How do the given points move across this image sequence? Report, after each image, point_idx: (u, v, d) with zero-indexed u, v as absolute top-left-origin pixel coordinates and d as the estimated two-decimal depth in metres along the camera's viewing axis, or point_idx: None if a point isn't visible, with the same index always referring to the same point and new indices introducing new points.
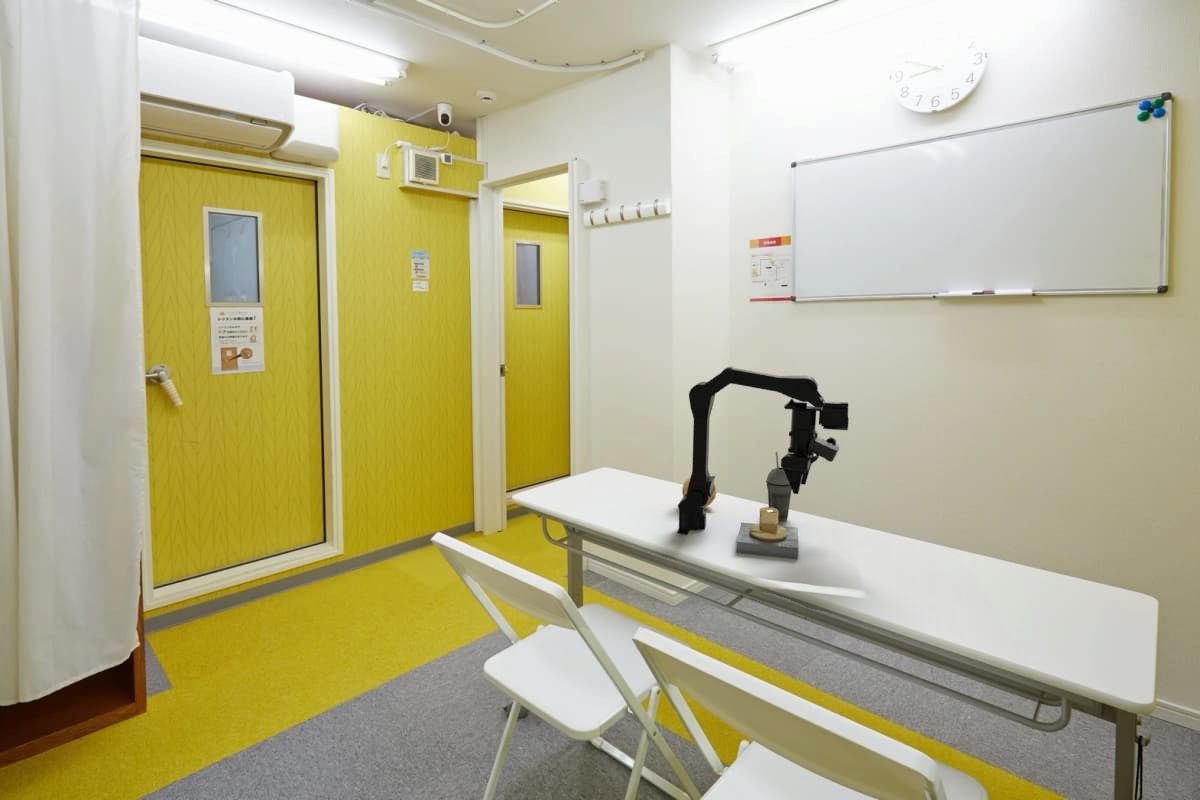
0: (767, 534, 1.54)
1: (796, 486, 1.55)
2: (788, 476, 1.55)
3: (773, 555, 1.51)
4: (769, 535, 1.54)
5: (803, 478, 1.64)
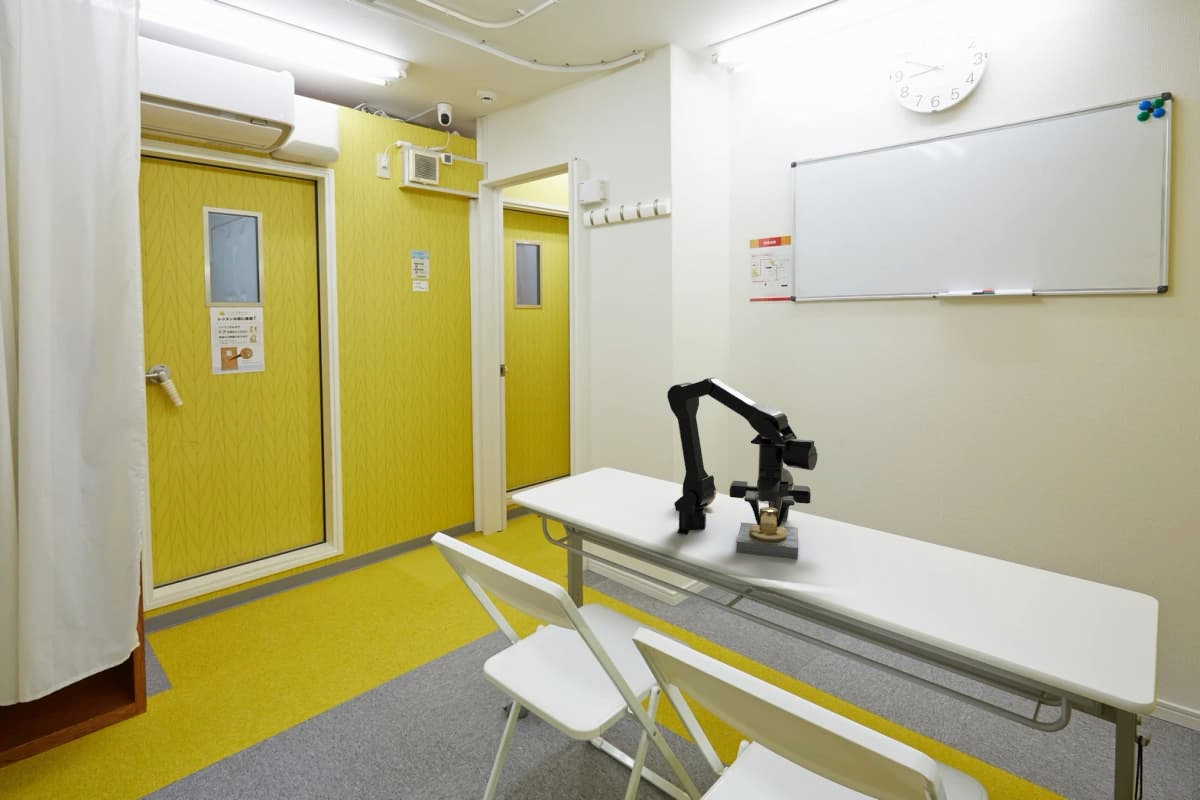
0: (767, 534, 1.54)
1: (755, 516, 1.57)
2: None
3: (773, 555, 1.51)
4: (769, 535, 1.54)
5: (778, 520, 1.56)
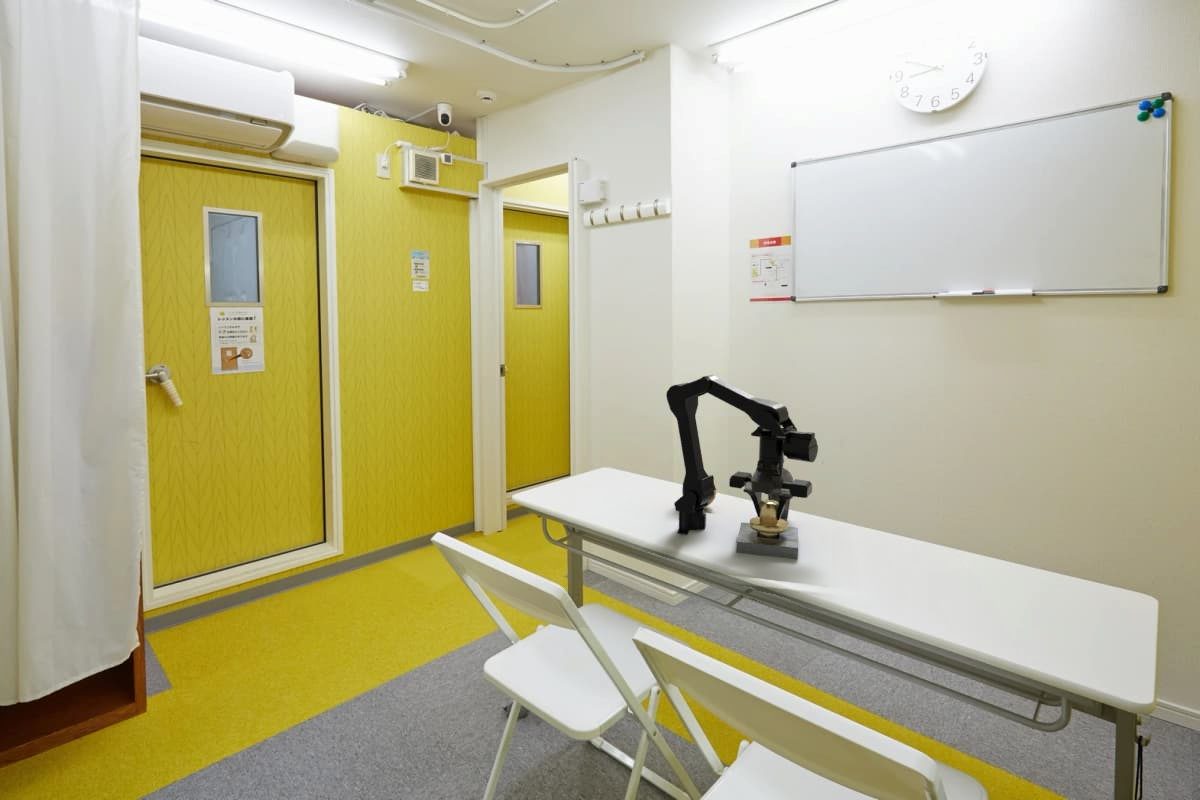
0: (764, 526, 1.54)
1: None
2: None
3: (773, 555, 1.51)
4: (765, 527, 1.54)
5: None
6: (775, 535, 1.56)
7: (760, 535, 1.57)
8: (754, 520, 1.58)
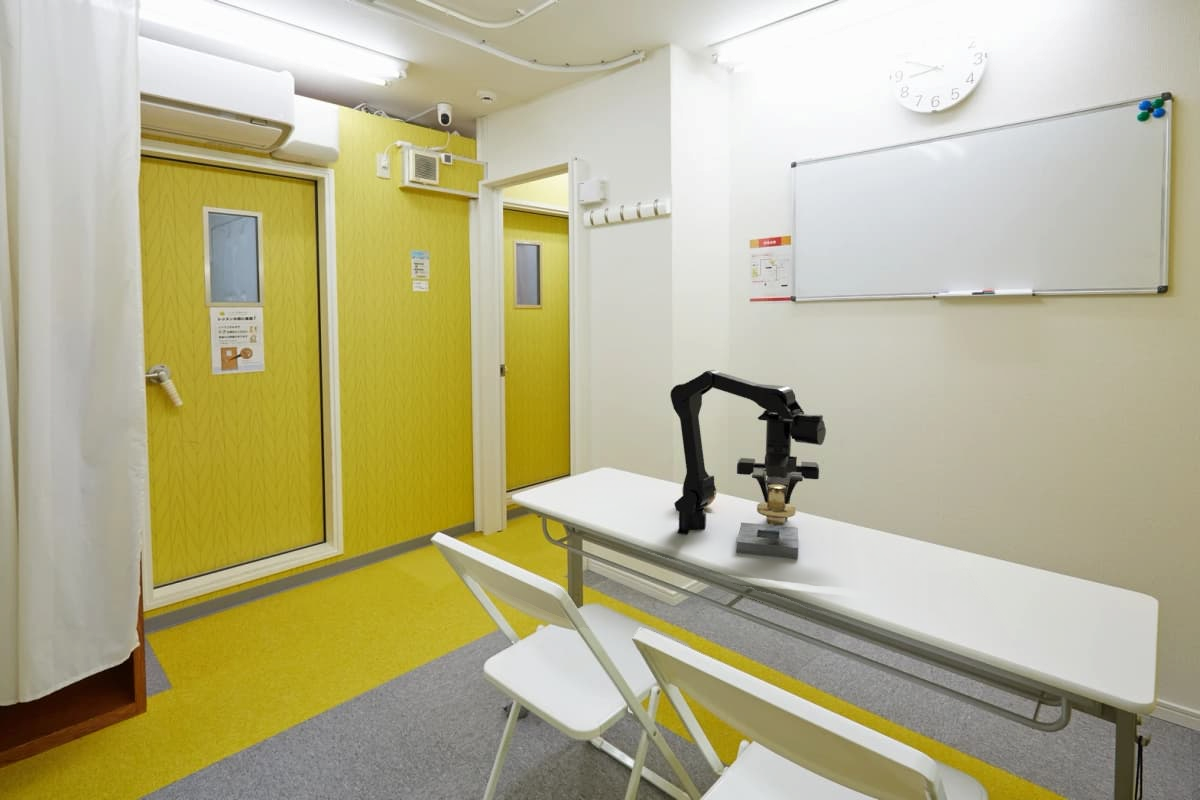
0: (775, 510, 1.53)
1: (763, 493, 1.56)
2: None
3: (773, 555, 1.51)
4: (777, 511, 1.52)
5: (786, 497, 1.55)
6: (784, 519, 1.55)
7: (769, 520, 1.55)
8: (761, 506, 1.56)
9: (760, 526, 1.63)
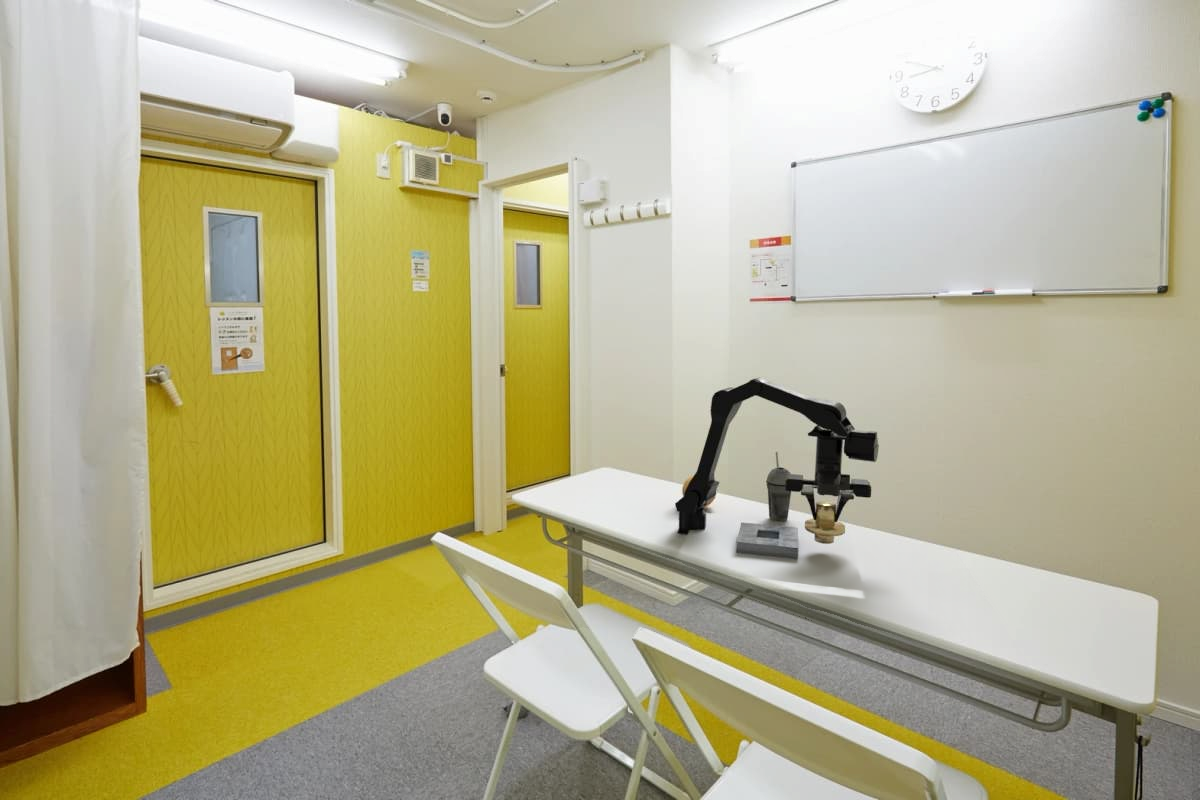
0: (825, 528, 1.49)
1: None
2: None
3: (773, 555, 1.51)
4: (827, 529, 1.49)
5: (835, 515, 1.51)
6: (833, 537, 1.51)
7: (818, 538, 1.51)
8: (809, 523, 1.53)
9: (760, 526, 1.63)
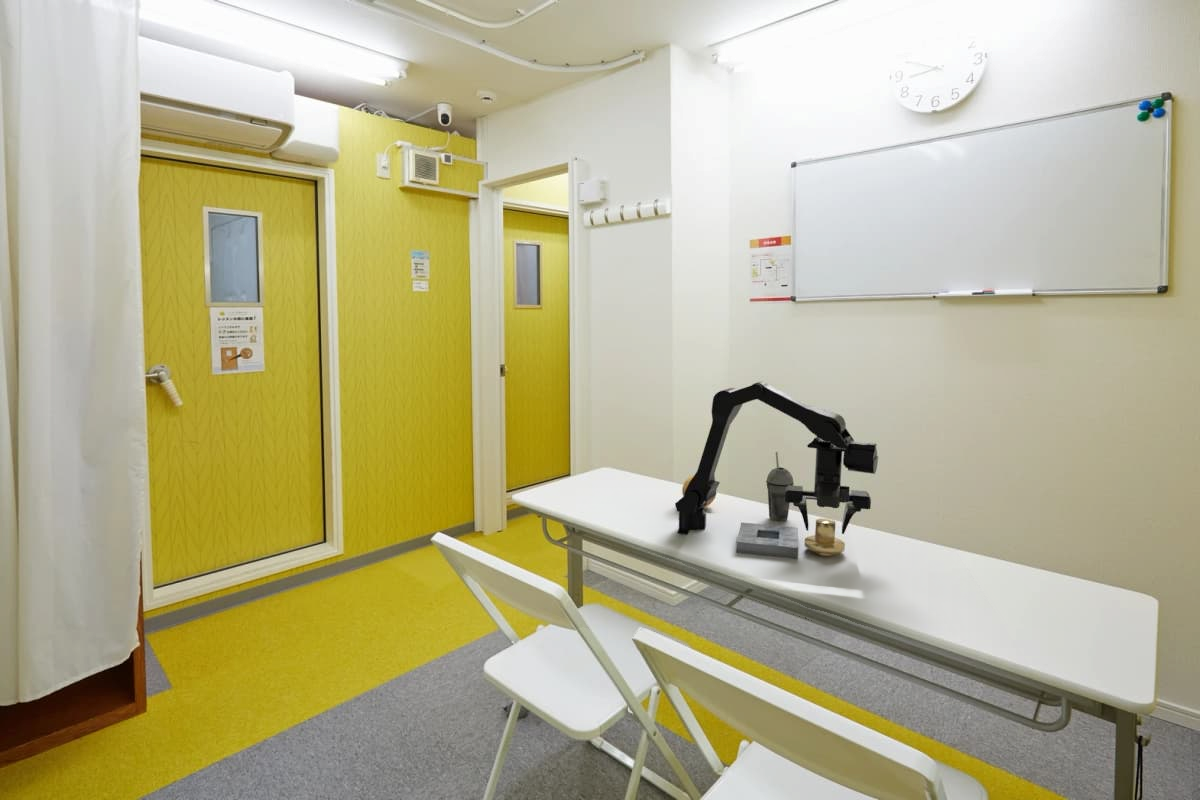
0: (824, 546, 1.50)
1: (804, 521, 1.53)
2: None
3: (773, 555, 1.51)
4: (827, 547, 1.49)
5: (842, 526, 1.51)
6: None
7: None
8: (809, 541, 1.53)
9: (760, 526, 1.63)
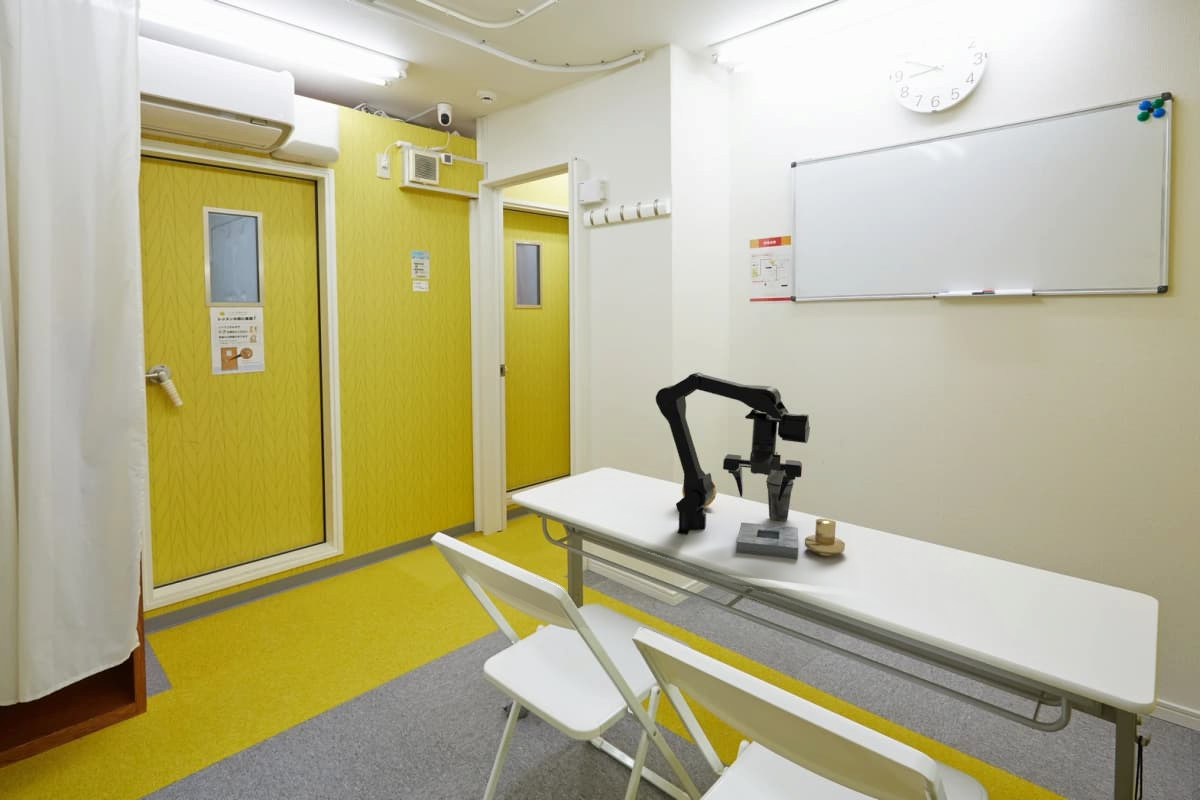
0: (825, 546, 1.50)
1: None
2: None
3: (773, 555, 1.51)
4: (827, 547, 1.49)
5: None
6: None
7: None
8: (809, 541, 1.53)
9: (760, 526, 1.63)
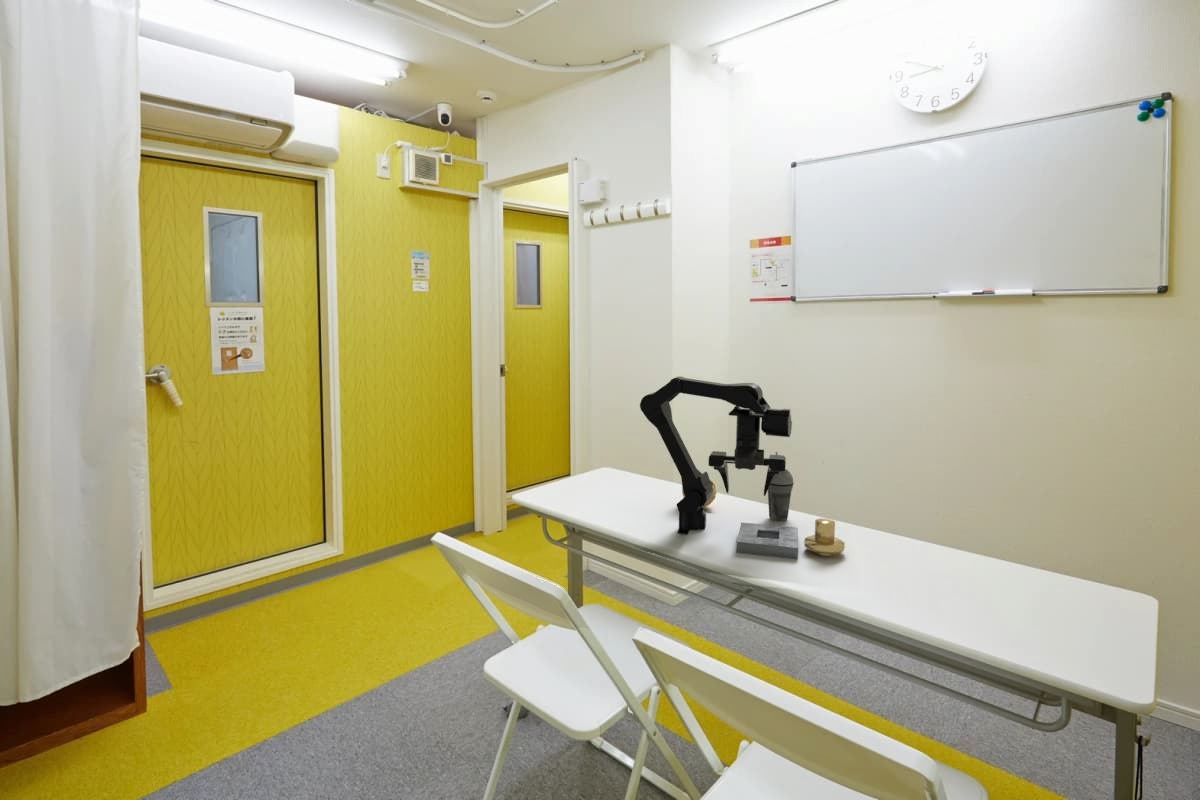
0: (824, 546, 1.50)
1: None
2: None
3: (773, 555, 1.51)
4: (826, 547, 1.49)
5: (764, 489, 1.62)
6: None
7: None
8: (809, 541, 1.53)
9: (760, 526, 1.63)
